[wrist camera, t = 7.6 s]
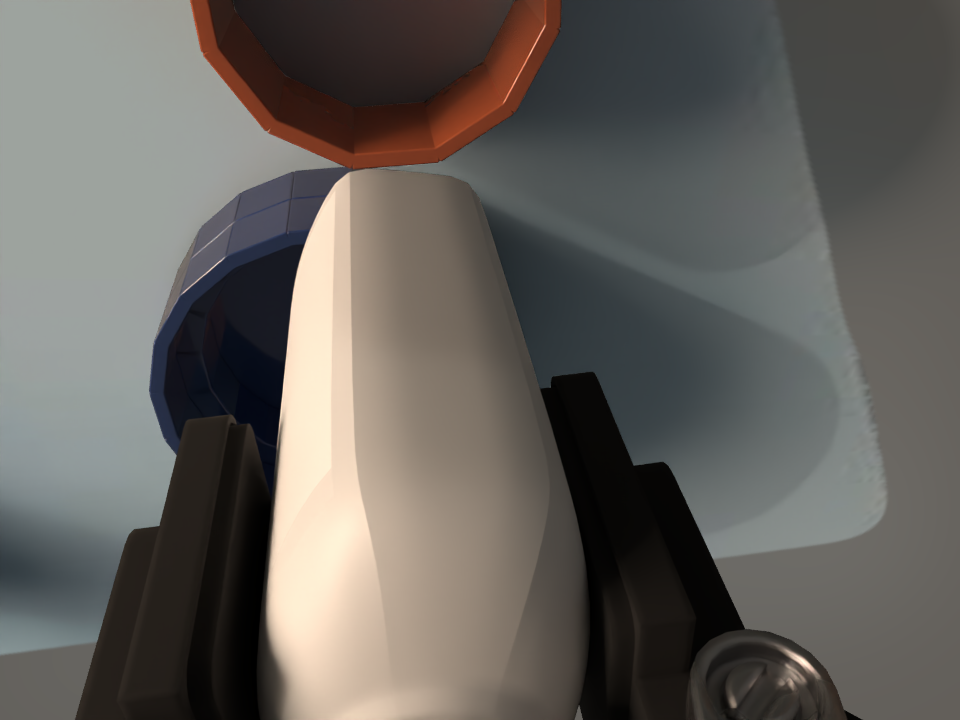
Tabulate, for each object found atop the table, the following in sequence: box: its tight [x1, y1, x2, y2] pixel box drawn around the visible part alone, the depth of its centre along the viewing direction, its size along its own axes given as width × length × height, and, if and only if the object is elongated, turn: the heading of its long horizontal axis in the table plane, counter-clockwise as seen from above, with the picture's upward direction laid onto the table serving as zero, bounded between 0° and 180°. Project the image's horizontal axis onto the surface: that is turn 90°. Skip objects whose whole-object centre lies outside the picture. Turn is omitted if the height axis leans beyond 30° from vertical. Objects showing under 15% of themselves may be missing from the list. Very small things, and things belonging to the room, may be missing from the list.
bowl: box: [149, 167, 363, 500], centre depth 32 cm, size 13×13×6 cm
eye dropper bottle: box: [256, 169, 590, 720], centre depth 10 cm, size 4×6×12 cm
